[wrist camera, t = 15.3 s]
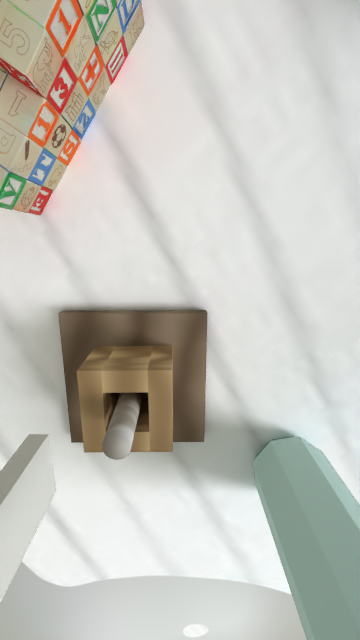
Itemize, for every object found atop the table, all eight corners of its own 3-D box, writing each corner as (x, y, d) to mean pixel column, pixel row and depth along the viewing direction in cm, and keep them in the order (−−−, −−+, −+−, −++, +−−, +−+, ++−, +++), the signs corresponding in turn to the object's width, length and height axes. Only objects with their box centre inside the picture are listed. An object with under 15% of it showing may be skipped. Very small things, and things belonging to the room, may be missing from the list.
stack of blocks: (42, 217, 33) (-35, 202, 21) (-11, 183, 32) (-122, 146, 20) (146, 24, 29) (124, -135, 17) (89, -23, 28) (23, -225, 16)
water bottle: (260, 424, 39) (394, 711, 15) (331, 437, 40) (568, 733, 16) (240, 485, 42) (330, 817, 18) (308, 497, 42) (483, 832, 18)
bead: (172, 345, 35) (171, 370, 28) (173, 413, 37) (172, 451, 30) (96, 346, 35) (76, 370, 28) (101, 414, 37) (84, 452, 30)
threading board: (205, 310, 35) (223, 349, 22) (202, 434, 40) (216, 527, 27) (63, 310, 35) (-4, 349, 22) (75, 435, 39) (25, 529, 26)
